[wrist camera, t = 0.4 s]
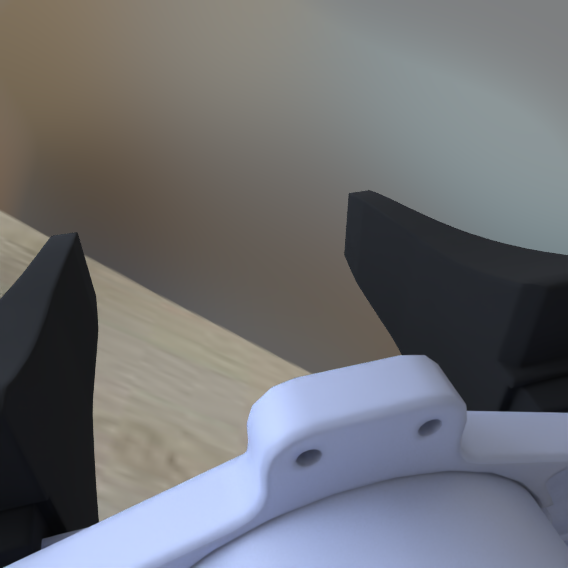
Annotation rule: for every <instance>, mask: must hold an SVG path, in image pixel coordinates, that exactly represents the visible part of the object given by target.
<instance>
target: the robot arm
mask: <svg viewBox="0 0 568 568" xmlns="http://www.w3.org/2000/svg"><path fill="white" fill-rule="evenodd" d="M344 253H345V254H344V255H345V257H346V260H347V262H348V265H349V267H350V269H351V271H352V273H353V276H354V278H355V280H356V282H357V284H358V285H359V287H360V289H361V290H362V292H363V293H364V295H365V296H366V298H367V300H368V301H369V302H370V304H371V306H372V307H373V309H374V310H375V312H376V313H377V315H378V316H379V318H380V320H381V321H382V323H383V324H384V326H385V327H386V329H387V330H388V332H389V333H390V335H391V336H392V338H393V340H394V341H395V343H396V345H397V347H398V348H399V350H400V352H401V354H402V355H399V356H395V357H390V358H385V359H381V360H376V361H372V362H367V363H362V364H357V365H353V366H348V367H344V368H339V369H334V370H330V371H325V372H320V373H316V374H311V375H306V376H302V377H297V378H293V379H291V380H288V381H286V382H284V383H281V384H279V385H276V386H274V387H272V388H271V389H269V390H268V391H267V392H266V393H265V394H264V395H263V396H262V397H261V398H260V399H259V400H258V401H257V402H256V403H255V404H253V405H252V408H251V412H250V415H249V418H248V422H247V432H248V448H247V451H246V452H245V453H244V454H242V455H240V456H238V457H236V458H234V459H232V460H230V461H227V462H225V463H223V464H221V465H219V466H217V467H215V468H213V469H211V470H208V471H206V472H204V473H202V474H200V475H198V476H196V477H194V478H192V479H189V480H187V481H185V482H183V483H181V484H179V485H177V486H175V487H173V488H170V489H168V490H166V491H164V492H162V493H160V494H158V495H156V496H154V497H151V498H149V499H147V500H145V501H143V502H141V503H139V504H137V505H135V506H132V507H130V508H128V509H126V510H124V511H122V512H120V513H118V514H115V515H113V516H111V517H109V518H107V519H105V520H103V521H101V522H99V519H98V505H97V491H96V476H95V458H94V438H93V391H94V379H95V367H96V354H97V341H98V315H97V302H96V294H95V291H94V288H93V284H92V281H91V277H90V274H89V270H88V267H87V264H86V260H85V257H84V253H83V250H82V247H81V243H80V239H79V236H78V233H77V232H76V233H69V234H61V235H54V236H51V237H50V239H49V240H48V241H47V242H46V244H45V245H44V246H43V248H42V249H41V250H40V252H39V253H38V254H37V256H36V257H35V258H34V260H33V261H32V262H31V264H30V265H29V266H28V267H27V269H26V270H25V271H24V272H23V274H22V275H21V276H20V277H19V279H18V280H17V281H16V282H15V283H14V284H13V286H12V287H11V288H10V289H9V290H8V291H7V292H6V293H5V294H4V295H3V297H2V298H1V299H0V568H568V255H562V254H556V253H549V252H542V251H537V250H531V249H526V248H521V247H517V246H512V245H508V244H504V243H500V242H497V241H493V240H489V239H486V238H483V237H480V236H477V235H473V234H470V233H467V232H464V231H461V230H459V229H456V228H454V227H451V226H449V225H446V224H444V223H441V222H439V221H437V220H434V219H432V218H430V217H428V216H425V215H423V214H421V213H419V212H417V211H415V210H413V209H410V208H408V207H406V206H404V205H402V204H400V203H398V202H396V201H394V200H392V199H389V198H387V197H385V196H383V195H380V194H378V193H376V192H373V191H370V190H368V191H362V192H355V193H349V198H348V212H347V225H346V239H345V252H344Z"/></svg>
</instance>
